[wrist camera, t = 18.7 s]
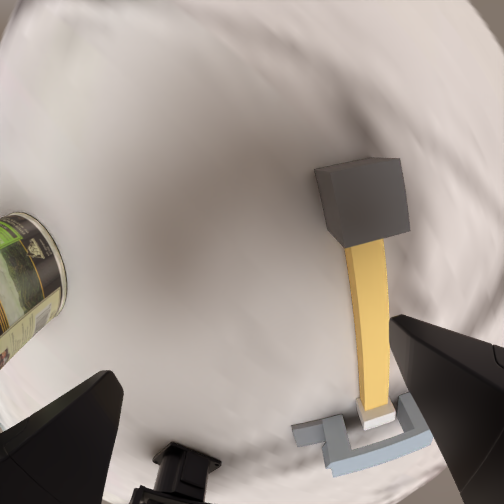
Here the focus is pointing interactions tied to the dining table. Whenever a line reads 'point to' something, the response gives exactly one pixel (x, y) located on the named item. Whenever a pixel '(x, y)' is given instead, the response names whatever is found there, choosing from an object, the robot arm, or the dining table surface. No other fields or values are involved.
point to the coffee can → (27, 282)
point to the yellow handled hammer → (367, 264)
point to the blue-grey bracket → (350, 461)
